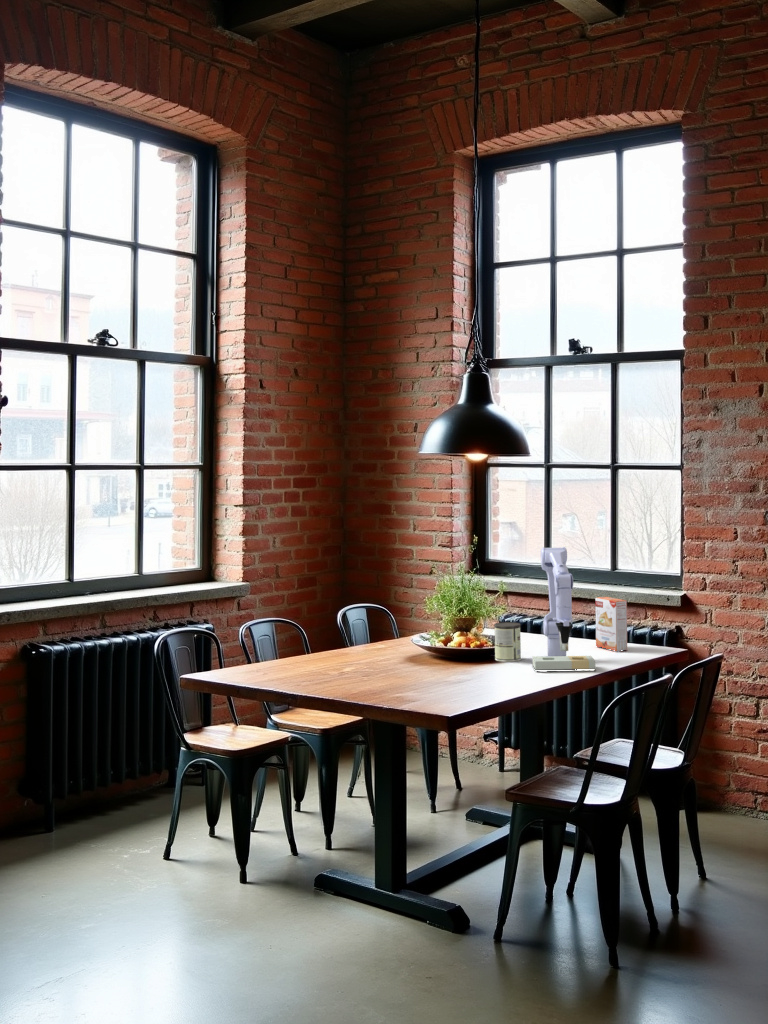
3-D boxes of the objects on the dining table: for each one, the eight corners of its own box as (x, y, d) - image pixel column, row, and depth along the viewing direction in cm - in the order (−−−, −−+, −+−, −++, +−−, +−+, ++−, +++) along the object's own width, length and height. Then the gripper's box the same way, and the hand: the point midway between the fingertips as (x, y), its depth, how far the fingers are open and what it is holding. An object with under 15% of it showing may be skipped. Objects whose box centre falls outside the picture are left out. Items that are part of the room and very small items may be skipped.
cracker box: (595, 647, 450) (594, 597, 449) (606, 646, 453) (606, 596, 452) (615, 652, 437) (615, 600, 436) (627, 651, 440) (627, 599, 439)
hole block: (532, 667, 410) (532, 656, 410) (591, 666, 409) (591, 655, 409) (535, 672, 400) (535, 661, 400) (595, 671, 400) (595, 660, 399)
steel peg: (559, 649, 407) (558, 628, 406) (568, 649, 406) (567, 628, 406) (560, 651, 403) (559, 629, 403) (568, 651, 403) (568, 629, 403)
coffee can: (494, 657, 432) (494, 622, 431) (520, 657, 431) (520, 622, 430) (494, 662, 422) (494, 626, 421) (521, 662, 421) (520, 626, 420)
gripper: (550, 603, 412) (551, 639, 412) (555, 609, 397) (555, 646, 398) (569, 603, 411) (570, 639, 412) (574, 608, 397) (575, 645, 397)
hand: (564, 642), depth 405 cm, fingers closed on steel peg, 3 cm apart
